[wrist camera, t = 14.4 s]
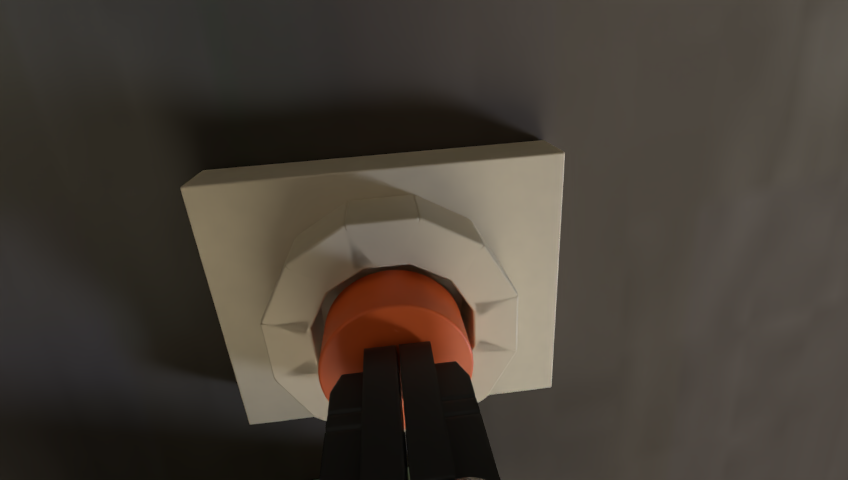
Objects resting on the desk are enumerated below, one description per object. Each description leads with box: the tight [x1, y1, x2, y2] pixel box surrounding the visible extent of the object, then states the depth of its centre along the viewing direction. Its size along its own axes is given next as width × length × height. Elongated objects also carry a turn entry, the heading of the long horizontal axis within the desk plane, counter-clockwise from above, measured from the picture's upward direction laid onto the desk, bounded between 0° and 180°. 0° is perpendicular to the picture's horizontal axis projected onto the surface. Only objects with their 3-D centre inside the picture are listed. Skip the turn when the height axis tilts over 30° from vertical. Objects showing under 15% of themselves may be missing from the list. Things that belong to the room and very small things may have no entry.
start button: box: [318, 270, 474, 429], centre depth 11 cm, size 4×4×2 cm
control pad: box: [180, 140, 565, 431], centre depth 13 cm, size 10×8×4 cm
